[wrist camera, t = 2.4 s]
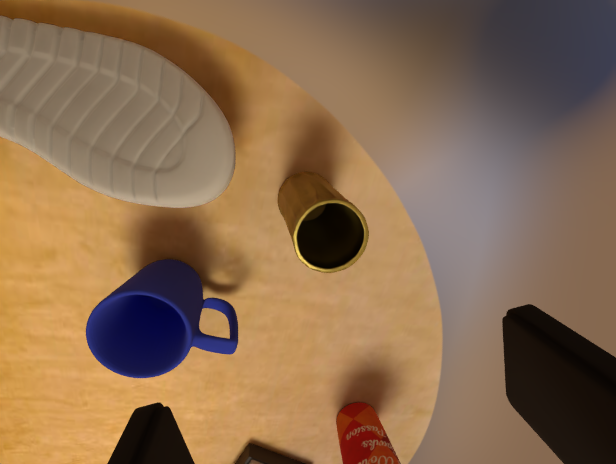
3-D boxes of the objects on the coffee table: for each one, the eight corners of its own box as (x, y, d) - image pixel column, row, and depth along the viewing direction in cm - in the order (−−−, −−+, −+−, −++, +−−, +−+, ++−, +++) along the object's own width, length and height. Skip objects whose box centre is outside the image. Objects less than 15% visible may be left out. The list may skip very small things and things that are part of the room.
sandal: (248, 52, 25) (260, 96, 32) (-134, -17, 24) (-36, 43, 32) (218, 216, 24) (236, 223, 31) (-176, 148, 24) (-65, 171, 31)
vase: (269, 216, 36) (273, 264, 22) (289, 162, 34) (305, 178, 21) (321, 234, 37) (354, 289, 23) (341, 182, 36) (389, 209, 22)
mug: (233, 331, 39) (223, 394, 29) (126, 308, 36) (76, 369, 27) (252, 269, 37) (248, 315, 27) (141, 240, 35) (94, 279, 25)
